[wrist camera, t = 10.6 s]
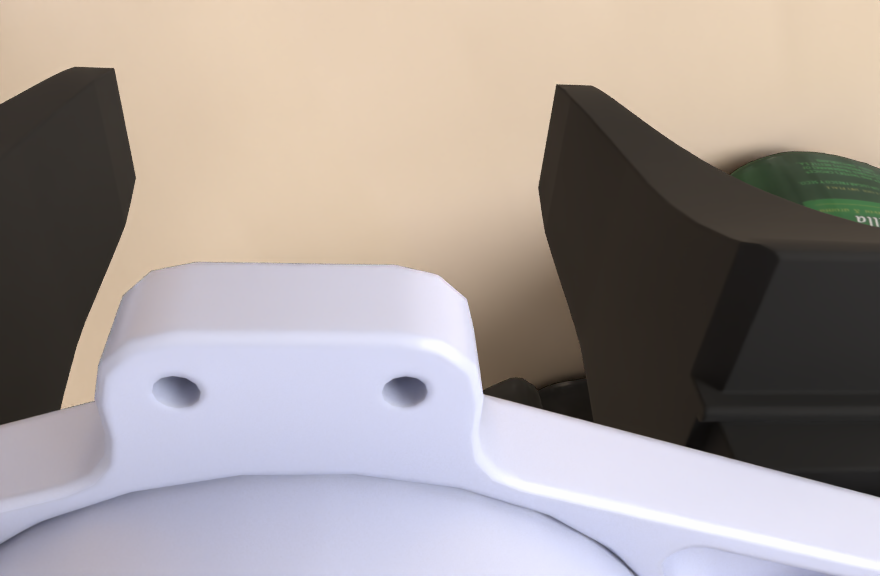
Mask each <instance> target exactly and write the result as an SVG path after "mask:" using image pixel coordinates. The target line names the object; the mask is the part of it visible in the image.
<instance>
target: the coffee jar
mask: <svg viewBox="0 0 880 576" xmlns="http://www.w3.org/2000/svg"><path fill="white" fill-rule="evenodd" d="M730 175H731V176H733V177H735V178H737V179H739V180H741V181H743V182H745V183H747V184H749V185H752V186H754V187H756V188H759V189H761V190H763V191H765V192H768V193H771V194H773V195H776V196H778V197H781V198H784V199H786V200H789V201H791V202H794V203H796V204H799V205H802V206H805V207H808V208H811V209H814V210H817V211H820V212H823V213H827V214H830V215H834V216H837V217H841V218H844V219H848V220H851V221H855V222H858V223H862V224H866V225H871V226H875V227H880V169H879V168H876V167H873V166H871V165H869V164H867V163H863V162H859V161H855V160H852V159H848V158H845V157H841V156H837V155H830V154H825V153H818V152H794V151H791V152H783V153H778V154H774V155H770V156H767V157H764V158H760V159H757V160H755V161H751V162H750V163H748V164H746V165H744V166H742V167H740V168H738V169H737V170H735V171H734V172H733V173H732V174H730Z"/></svg>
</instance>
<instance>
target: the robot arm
mask: <svg viewBox="0 0 880 576" xmlns="http://www.w3.org/2000/svg"><path fill="white" fill-rule="evenodd" d="M135 179H136V176H135V171H134V166H133V161H132V156H131V151H130V146H129V141H128V136H127V131H126V126H125V121H124V116H123V110H122V105H121V100H120V95H119V90H118V85H117V80H116V75H115V70H114V68H91V67H73V68H70V69H67V70H65V71H62V72H60V73H58V74H56V75H54V76H52V77H50V78H48V79H46V80H44V81H42V82H40V83H39V84H37V85H35V86H33V87H31V88H29V89H28V90H26V91H24V92H22V93H20V94H18V95H17V96H15V97H13V98H11V99H9V100H7V101H6V102H4V103H2V104H0V576H880V227H875V226H871V225H866V224H862V223H858V222H855V221H851V220H848V219H844V218H841V217H837V216H834V215H830V214H827V213H823V212H820V211H817V210H814V209H811V208H808V207H805V206H802V205H799V204H796V203H794V202H791V201H789V200H786V199H784V198H781V197H778V196H776V195H773V194H771V193H768V192H765V191H763V190H761V189H759V188H756V187H754V186H752V185H749V184H747V183H745V182H743V181H741V180H739V179H737V178H735V177H733V176H731V175H729V174H727V173H725V172H723V171H721V170H719V169H717V168H715V167H713V166H712V165H710V164H708V163H706V162H705V161H703V160H701V159H699V158H698V157H696V156H695V155H693V154H691V153H690V152H688V151H687V150H685V149H683V148H682V147H680V146H679V145H677V144H675V143H674V142H673V141H671V140H670V139H668V138H667V137H665V136H664V135H662V134H661V133H659V132H658V131H656V130H655V129H654V128H652V127H651V126H649V125H648V124H647V123H645V122H644V121H643V120H641V119H640V118H638V117H637V116H636V115H634V114H633V113H632V112H630V111H629V110H628V109H626V108H625V107H624V106H622V105H621V104H620V103H618V102H617V101H615V100H614V99H613V98H611V97H610V96H608V95H607V94H605V93H604V92H602V91H601V90H599V89H597V88H595V87H594V86H585V85H558V84H556V90H555V96H554V101H553V107H552V113H551V119H550V124H549V130H548V136H547V141H546V147H545V153H544V158H543V164H542V170H541V175H540V181H539V187H538V189H539V196H540V203H541V210H542V217H543V223H544V229H545V234H546V237H547V241H548V244H549V247H550V250H551V254H552V257H553V260H554V263H555V266H556V269H557V273H558V276H559V279H560V282H561V285H562V288H563V291H564V294H565V297H566V300H567V303H568V307H569V310H570V313H571V316H572V319H573V322H574V325H575V329H576V332H577V336H578V340H579V344H580V348H581V353H582V358H583V364H584V369H585V374H586V380H587V385H588V390H589V396H590V402H591V409H592V415H593V421H594V423H592V422H588V421H585V420H581V419H577V418H573V417H569V416H565V415H561V414H558V413H554V412H550V411H546V410H542V409H538V408H535V407H531V406H527V405H523V404H519V403H515V402H512V401H508V400H504V399H500V398H496V397H492V396H488V395H485V394H483V389H482V382H481V375H480V368H479V361H478V354H477V347H476V340H475V333H474V328H473V323H472V319H471V315H470V310H469V306H468V301H467V299H466V298H465V297H464V296H463V295H461V294H460V293H459V292H458V291H457V290H456V289H454V288H453V287H452V286H451V285H450V284H449V283H447V282H446V281H445V280H444V279H443V278H442V277H440V276H439V275H437V274H433V273H429V272H424V271H420V270H415V269H411V268H407V267H402V266H398V265H371V264H302V263H233V262H193V263H188V264H183V265H178V266H173V267H168V268H163V269H158V270H153V271H150V272H149V273H148V274H147V275H146V276H145V277H144V278H142V279H141V280H140V281H139V282H138V283H137V284H136V285H134V286H133V287H132V288H131V289H130V290H129V291H128V292H126V293H125V294H124V295H123V297H122V300H121V302H120V305H119V308H118V311H117V314H116V317H115V319H114V322H113V325H112V328H111V331H110V334H109V336H108V339H107V342H106V345H105V348H104V350H103V353H102V356H101V359H100V362H99V365H98V372H97V381H96V390H95V401H92V402H88V403H84V404H80V405H77V406H73V407H69V408H65V409H61V410H60V408H61V404H62V400H63V396H64V391H65V388H66V384H67V380H68V377H69V373H70V369H71V365H72V362H73V358H74V354H75V350H76V347H77V344H78V341H79V338H80V335H81V332H82V329H83V327H84V324H85V321H86V319H87V317H88V314H89V312H90V309H91V307H92V305H93V302H94V300H95V298H96V295H97V293H98V290H99V288H100V286H101V283H102V281H103V278H104V276H105V274H106V271H107V269H108V267H109V264H110V262H111V259H112V257H113V255H114V252H115V250H116V247H117V245H118V242H119V240H120V237H121V235H122V232H123V230H124V227H125V224H126V220H127V216H128V212H129V208H130V203H131V199H132V194H133V189H134V184H135Z"/></svg>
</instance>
